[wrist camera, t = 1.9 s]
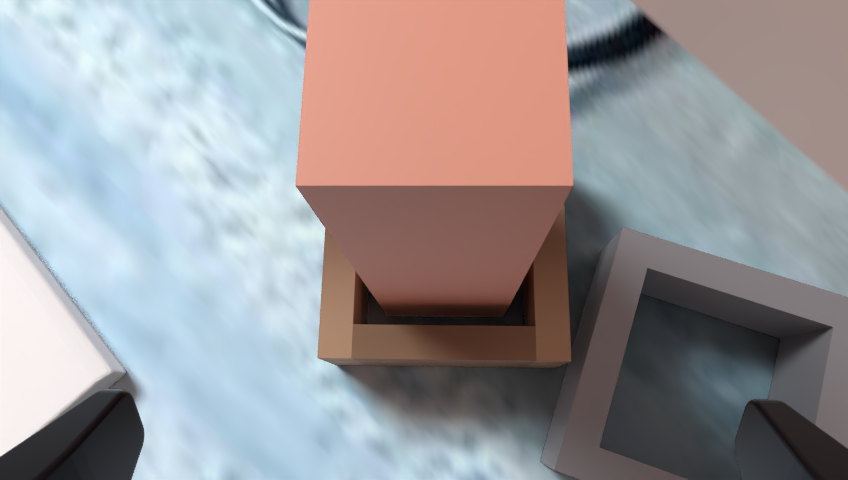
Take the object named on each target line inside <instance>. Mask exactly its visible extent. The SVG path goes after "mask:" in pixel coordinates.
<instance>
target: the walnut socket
mask: <svg viewBox="0 0 848 480" xmlns="http://www.w3.org/2000/svg"><path fill="white" fill-rule="evenodd" d="M523 304H524V326H466V325H373V324H367V312H368V288H367V286H366V285H365V283H364V282H363V281H362V279H361V278H360V276H359V275H358V273H357V272H356V271H355V269H354V268H353V266H352V265H351V263H350V262H349V261H348V259H347V258H346V256H345V255H344V254H343V252H342V251H341V249H340V248H339V246H338V245H337V244H336V242H335V241H334V239H333V238H332V237H331V235H330V234H329V232H328V231H327V229H326V228H325V244H324V261H323V277H322V293H321V309H320V326H319V342H318V358H319V359H322V360H324V361H327V362H329V363H332V364H335V365H365V366H436V367H507V368H557V367H559V366H562V365H564V364H566V363H569V362H571V339H570V317H569V295H568V273H567V251H566V229H565V206H564V204H563V206H562V208H561V210H560V212H559V214H558V216H557V217H556V219H555V221H554V223H553V225H552V227H551V229H550V231H549V232H548V234H547V236H546V238H545V240H544V242H543V244H542V246H541V247H540V249H539V251H538V253H537V255H536V257H535V259H534V261H533V262H532V264H531V266H530V268H529V270H528V272H527V274H526V276H525V277H524V279H523Z"/></svg>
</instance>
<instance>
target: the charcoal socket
mask: <svg viewBox="0 0 848 480" xmlns="http://www.w3.org/2000/svg"><path fill="white" fill-rule="evenodd" d="M640 294H644V295H647V296H650V297H653V298H657V299H660V300H663V301H666V302H669V303H672V304H675V305H678V306H681V307H684V308H687V309H690V310H693V311H697V312H700V313H703V314H706V315H709V316H712V317H715V318H718V319H721V320H724V321H727V322H730V323H733V324H737V325H740V326H743V327H746V328H749V329H752V330H755V331H758V332H761V333H764V334H767V335H770V336H773V337H777V338H780V344H779V348H778V353H777V358H776V363H775V368H774V372H773V377H772V382H771V387H770V392H769V396H768V399H776V400H781V401H783V402H785V403H786V404H788V405H789V406H790V407H792V408H793V409H795V410H796V411H797V412H799V413H800V414H801V415H803V416H804V417H805V418H807V419H808V420H810V421H811V422H812V423H814V424H815V425H816V426H818V427H819V428H821V429H822V430H823V431H825V432H826V433H827V434H829V435H830V436H832V437H833V438H834V439H836V440H837V441H838V442H840V443H841V444H842V445H844V446H845V447H847V448H848V297H846V296H842V295H839V294H836V293H833V292H830V291H826V290H823V289H820V288H817V287H814V286H810V285H807V284H804V283H801V282H798V281H794V280H791V279H788V278H785V277H782V276H778V275H775V274H772V273H769V272H766V271H762V270H759V269H756V268H753V267H750V266H746V265H743V264H740V263H737V262H733V261H730V260H727V259H724V258H721V257H717V256H714V255H711V254H708V253H705V252H701V251H698V250H695V249H692V248H689V247H685V246H682V245H679V244H676V243H673V242H669V241H666V240H663V239H660V238H657V237H653V236H650V235H647V234H644V233H641V232H637V231H634V230H631V229H628V228H625V227H623V228H622V229H621V230H620V231H619V232H618V233H617V234H616V235H615V236H614V238H613V239H612V240H611V241H610V242H609V243H608V244H607V245H606V246H605V247H604V248H603V249H602V251H601V252H600V256H599V259H598V262H597V266H596V269H595V273H594V276H593V280H592V283H591V287H590V290H589V294H588V297H587V300H586V304H585V307H584V311H583V314H582V318H581V321H580V325H579V328H578V331H577V335H576V338H575V342H574V345H573V349H572V352H571V362H569V363H568V366H567V369H566V373H565V376H564V380H563V383H562V387H561V390H560V394H559V397H558V400H557V404H556V407H555V411H554V414H553V418H552V421H551V425H550V428H549V431H548V435H547V438H546V442H545V445H544V449H543V452H542V456H541V459H540V462H541V463H543V464H544V465H546V466H548V467H550V468H551V469H553V470H555V471H558V472H560V473H563V474H566V475H568V476H571V477H574V478H576V479H579V480H689V479H686V478H683V477H680V476H678V475H675V474H672V473H669V472H667V471H664V470H661V469H658V468H656V467H653V466H650V465H647V464H644V463H642V462H639V461H636V460H633V459H631V458H628V457H625V456H622V455H620V454H617V453H614V452H611V451H608V450H606V449H603V448H600V447H599V446H600V442H601V439H602V435H603V431H604V428H605V424H606V420H607V416H608V413H609V409H610V405H611V402H612V398H613V394H614V390H615V387H616V383H617V379H618V376H619V372H620V368H621V364H622V361H623V357H624V353H625V350H626V346H627V342H628V338H629V335H630V331H631V327H632V323H633V320H634V316H635V312H636V309H637V305H638V301H639V297H640Z"/></svg>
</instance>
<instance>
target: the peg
mask: <svg viewBox="0 0 848 480" xmlns="http://www.w3.org/2000/svg"><path fill="white" fill-rule="evenodd" d="M573 186H574V185H573V164H572V144H571V124H570V104H569V84H568V63H567V43H566V23H565V3H564V0H310V2H309V15H308V29H307V42H306V55H305V68H304V81H303V95H302V108H301V121H300V134H299V147H298V161H297V174H296V187H297V188H298V190H299V191H300V193H301V194H302V195H303V197H304V198H305V200H306V201H307V202H308V204H309V205H310V207H311V208H312V210H313V211H314V212H315V214H316V215H317V217H318V218H319V219H320V221H321V222H322V224H323V225H324V227H325V228H326V229H327V231H328V232H329V234H330V235H331V237H332V238H333V239H334V241H335V242H336V244H337V245H338V246H339V248H340V249H341V251H342V252H343V254H344V255H345V256H346V258H347V259H348V261H349V262H350V263H351V265H352V266H353V268H354V269H355V271H356V272H357V273H358V275H359V276H360V278H361V279H362V281H363V282H364V283H365V285H366V286H367V288H368V289H369V290H370V292H371V293H372V295H373V296H374V298H375V299H376V300H377V302H378V303H379V305H380V306H381V307H382V309H383V310H384V312H385V313H386V315H387V316H436V317H504V315H505V313H506V311H507V309H508V307H509V306H510V304H511V302H512V300H513V298H514V296H515V294H516V292H517V291H518V289H519V287H520V285H521V283H522V281H523V279H524V277H525V276H526V274H527V272H528V270H529V268H530V266H531V264H532V262H533V261H534V259H535V257H536V255H537V253H538V251H539V249H540V247H541V246H542V244H543V242H544V240H545V238H546V236H547V234H548V232H549V231H550V229H551V227H552V225H553V223H554V221H555V219H556V217H557V216H558V214H559V212H560V210H561V208H562V206H563V204H564V202H565V201H566V199H567V197H568V195H569V193H570V191H571V189H572V187H573Z"/></svg>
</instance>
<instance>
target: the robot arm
mask: <svg viewBox="0 0 848 480" xmlns="http://www.w3.org/2000/svg"><path fill="white" fill-rule="evenodd" d="M143 442H144V428H143V424H142V421H141V419H140V416H139V413H138V410H137V407H136V404H135V401H134V398H133V396H132V394H131V393H130V392H129V391H128V390H124V389H103V390H99V391H97V392H95V393H94V394H92V395H91V396H89V397H88V398H86V399H85V400H83V401H82V402H80V403H79V404H77V405H76V406H74V407H73V408H71V409H70V410H68V411H67V412H65V413H64V414H62V415H61V416H60V417H58V418H57V419H55V420H54V421H52V422H51V423H49V424H48V425H46V426H45V427H43V428H42V429H40V430H39V431H37V432H36V433H34V434H33V435H31V436H30V437H28V438H27V439H25V440H24V441H22V442H21V443H19V444H18V445H16V446H15V447H13V448H12V449H11V450H9V451H8V452H6V453H5V454H3V455H2V456H0V480H131V479H132V476H133V473H134V470H135V467H136V464H137V461H138V458H139V455H140V452H141V449H142V446H143ZM735 455H736V459H737V462H738V466H739V469H740V473H741V476H742V479H743V480H848V448H847V447H845V446H844V445H842V444H841V443H840V442H838V441H837V440H836V439H834V438H833V437H832V436H830V435H829V434H827V433H826V432H825V431H823V430H822V429H821V428H819V427H818V426H816V425H815V424H814V423H812V422H811V421H810V420H808V419H807V418H805V417H804V416H803V415H801V414H800V413H799V412H797V411H796V410H795V409H793V408H792V407H790V406H789V405H788V404H786V403H785V402H783V401H781V400H776V399H753V400H750V401H749V402H748V403H747V405H746V407H745V410H744V413H743V416H742V419H741V422H740V425H739V429H738V432H737V435H736V438H735Z"/></svg>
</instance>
